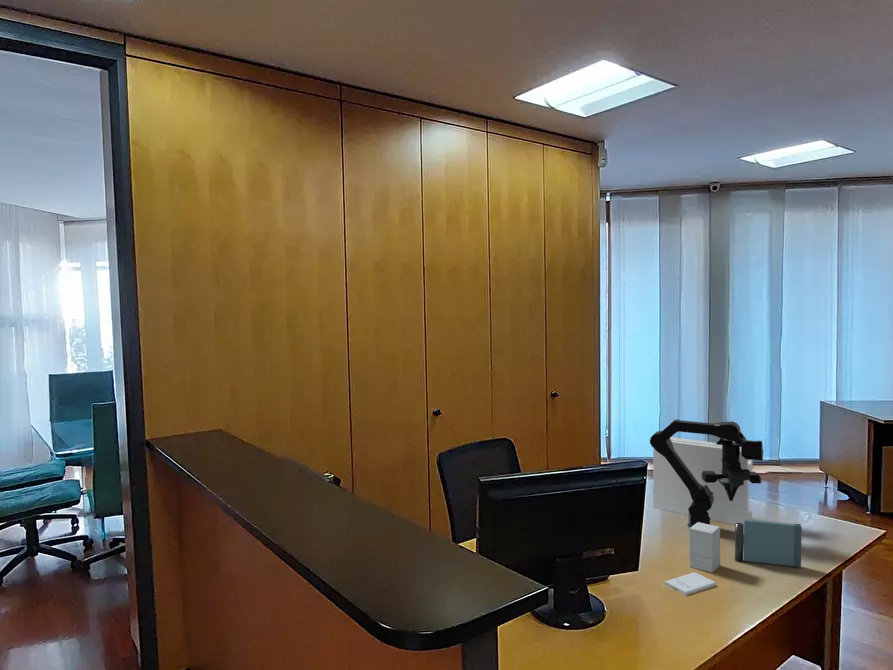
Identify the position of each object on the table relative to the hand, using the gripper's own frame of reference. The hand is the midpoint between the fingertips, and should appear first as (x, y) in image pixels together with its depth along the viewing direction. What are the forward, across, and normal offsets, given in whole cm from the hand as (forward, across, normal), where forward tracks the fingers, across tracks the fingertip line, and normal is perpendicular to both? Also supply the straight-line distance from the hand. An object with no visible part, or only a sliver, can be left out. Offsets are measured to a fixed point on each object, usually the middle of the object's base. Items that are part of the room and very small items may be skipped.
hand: (730, 500), depth 227 cm
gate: (+12, +5, -26) cm, 29 cm away
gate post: (+12, -4, -24) cm, 27 cm away
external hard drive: (+13, -24, -43) cm, 51 cm away
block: (+12, -5, +20) cm, 24 cm away
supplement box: (+12, -16, -29) cm, 35 cm away
